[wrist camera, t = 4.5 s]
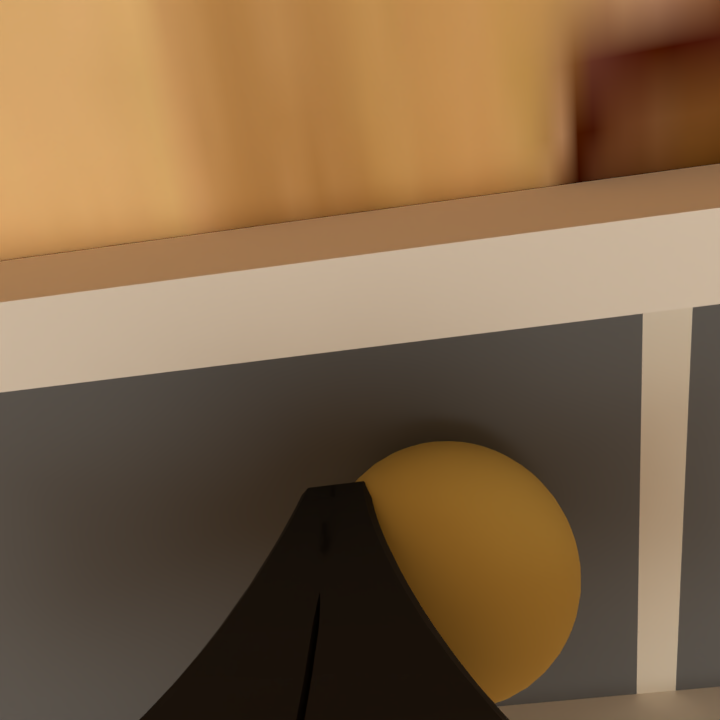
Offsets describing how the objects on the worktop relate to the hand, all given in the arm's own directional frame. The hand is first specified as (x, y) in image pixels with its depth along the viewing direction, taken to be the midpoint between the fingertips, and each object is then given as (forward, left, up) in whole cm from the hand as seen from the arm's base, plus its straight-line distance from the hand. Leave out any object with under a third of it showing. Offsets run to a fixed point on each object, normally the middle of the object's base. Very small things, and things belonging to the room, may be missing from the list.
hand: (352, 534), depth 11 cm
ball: (-1, -1, +2) cm, 2 cm away
